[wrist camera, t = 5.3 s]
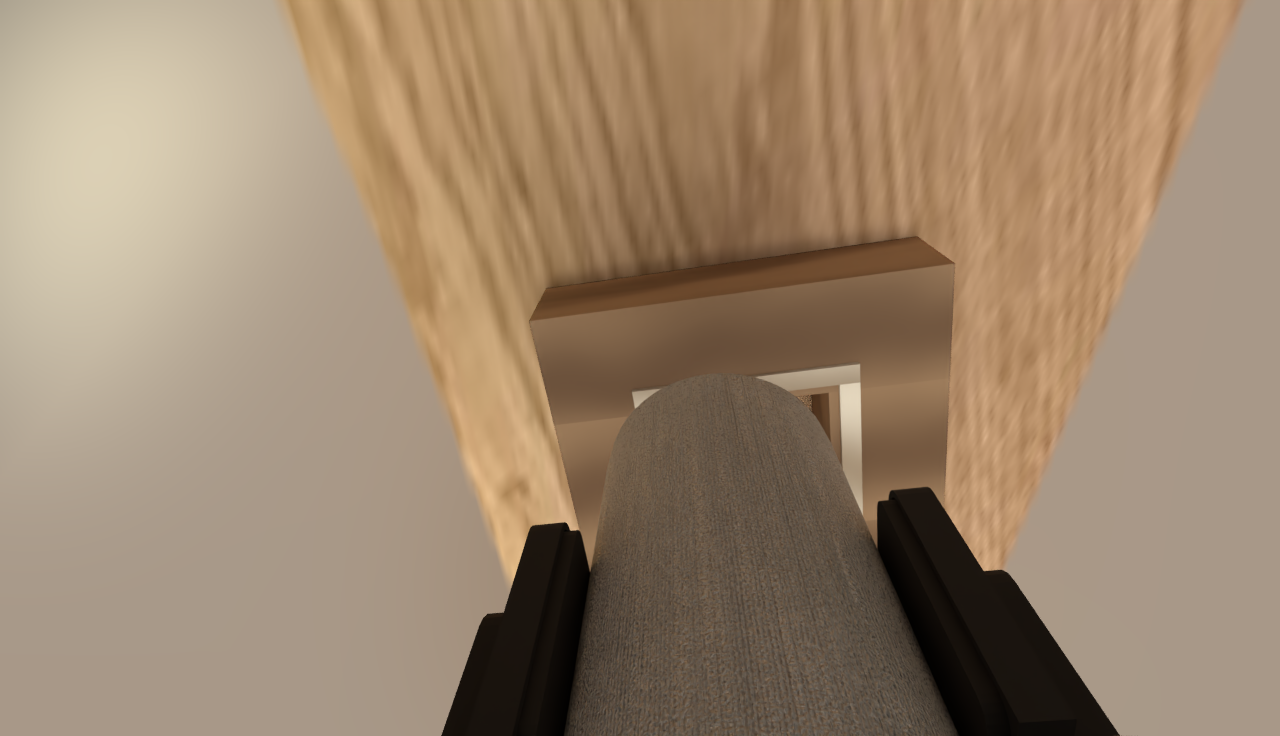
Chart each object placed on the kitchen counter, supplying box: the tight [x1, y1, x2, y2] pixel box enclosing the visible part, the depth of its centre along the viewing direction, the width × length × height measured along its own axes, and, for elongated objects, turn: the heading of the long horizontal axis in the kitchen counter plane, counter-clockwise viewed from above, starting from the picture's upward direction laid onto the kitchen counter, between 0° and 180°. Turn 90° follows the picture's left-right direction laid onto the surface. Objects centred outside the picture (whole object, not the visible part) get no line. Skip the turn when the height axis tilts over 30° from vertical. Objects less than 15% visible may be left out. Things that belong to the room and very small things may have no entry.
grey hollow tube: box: [564, 373, 959, 736], centre depth 9 cm, size 4×4×10 cm
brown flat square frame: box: [529, 237, 955, 571], centre depth 30 cm, size 16×16×4 cm
